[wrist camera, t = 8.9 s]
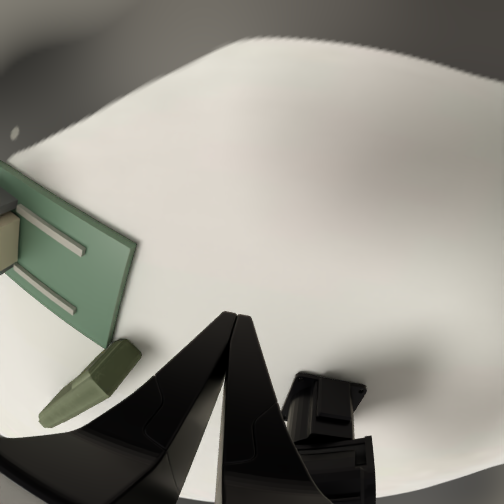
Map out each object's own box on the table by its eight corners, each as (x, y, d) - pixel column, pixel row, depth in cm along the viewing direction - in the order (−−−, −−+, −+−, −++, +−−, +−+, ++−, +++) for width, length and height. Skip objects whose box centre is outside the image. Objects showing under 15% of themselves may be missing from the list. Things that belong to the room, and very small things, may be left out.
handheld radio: (148, 357, 28) (65, 410, 38) (124, 331, 28) (50, 394, 37) (113, 402, 22) (42, 437, 31) (85, 373, 22) (26, 420, 31)
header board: (136, 244, 23) (87, 280, 18) (110, 343, 28) (75, 384, 22) (-5, 156, 23) (-53, 169, 17) (-11, 250, 28) (-49, 271, 22)
